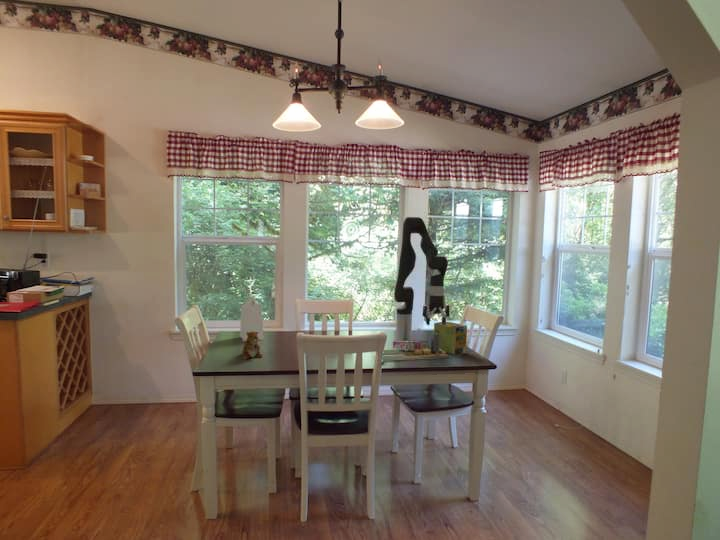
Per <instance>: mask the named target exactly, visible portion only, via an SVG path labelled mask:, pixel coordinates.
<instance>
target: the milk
mask: <svg viewBox="0 0 720 540" xmlns="http://www.w3.org/2000/svg"><path fill="white" fill-rule="evenodd" d="M248 296H249V298H248V300H247V301H246V302H244V303H243V304H242V306H241V309H240V330H239V338H240V337H241V338H242V339H243V340H242V339H241V338H240V339H241V340H242V341H243V342H244V341H246V339H247V338H248V336H247V334H246V332H248V333H249V332H259V333H258V334H257V337H258V339H259V341H261V340H260V339H263V340H264V321H263V319H264V318H263V308H262V307H261V306H260V303H259V302H258V301H257V300H255V297H254V295H253V294H249V295H248Z"/></svg>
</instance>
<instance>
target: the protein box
mask: <svg viewBox="0 0 720 540" xmlns="http://www.w3.org/2000/svg"><path fill="white" fill-rule="evenodd" d="M434 333H437V334H439V349H442V350H443V351H445V352H446V353H448V354H453V355H457V354H460V355H464V354H466V353H467V343H468V342H467V340H468V339H467V336H468V325H466V324H461V323H456V322H452V321H446V323H445V325H443V324H442V321H439V322H434V323H433V334H434Z"/></svg>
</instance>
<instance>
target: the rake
mask: <svg viewBox="0 0 720 540" xmlns="http://www.w3.org/2000/svg"><path fill="white" fill-rule="evenodd" d="M430 350H431V354H432V355H433V354H438V352H439V334H437V333H434V332H433V333H431V343H430Z"/></svg>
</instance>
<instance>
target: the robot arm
mask: <svg viewBox="0 0 720 540" xmlns="http://www.w3.org/2000/svg"><path fill="white" fill-rule="evenodd" d="M426 226H427V225H426V223H425V221H424V220H423V218H422V217H419V216H417V217H416V216H407V217H405V218H404V220H403V223H402V238H401V249H400V256H399V261H398V262H399V263H398V272H397V277H396V283H395V288H394V293H393V294H394V295H393V297H394V300H395V302H397V303H403V304H402V305H401V306H399V307H397V308H396V320H395V321H396V324H395V341H410V340H412V330H413V329H412V324H413V322H412V321H413V310H414V299H415V295H414V294H415V292H414V289H413V287H411V286H404V285H405V283H406V280H407V279H408V278H409V276H410V275H411V274H412V272H413V271H414V269H415V267H416V263H417V262H416V261H417V254H416V251H415V249H414V247H413V245H412V239H411V237H412V234H418V235H419V236H420V244H419V245H420V248H421V249H420V250H421V251H422V253H423V254H424V256H425V259H426V264H427V268H428V269H430V270H432V271H435V270H436V273H434V274H431V275H430V279H429V280H430V281H429V282H430V283H429V295H428V297H429V299H428V300H429V302H428V305H426V304H425V305H424V304H423V307H422V317H424V318H425V324H426V325H427V326H430V321H431V320H430V319H431V318H430V317H431V316H433V314H435V315H436V314H440V315H441V322H442V324H443V325H445V323H446V320H447V317H450V305H449V304H445V305H444V303H445V302H444V300H445V287H444V286H445V277H446V272H447V270H448V265H449V264H448V263H449V262H448V259H447V257H445V256H442V255H440V256H439V255H438V254H439V251H438V249H437V247H436V246H435V244H434V243H433V241H432V239H431V237H430V234H429V232H428V229H427V227H426ZM444 309H445V312H444ZM427 311H428V312H427Z"/></svg>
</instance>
